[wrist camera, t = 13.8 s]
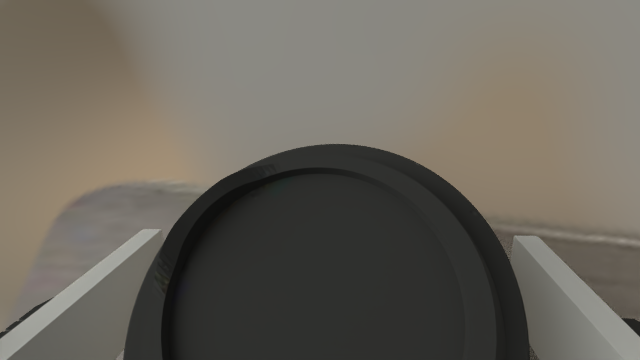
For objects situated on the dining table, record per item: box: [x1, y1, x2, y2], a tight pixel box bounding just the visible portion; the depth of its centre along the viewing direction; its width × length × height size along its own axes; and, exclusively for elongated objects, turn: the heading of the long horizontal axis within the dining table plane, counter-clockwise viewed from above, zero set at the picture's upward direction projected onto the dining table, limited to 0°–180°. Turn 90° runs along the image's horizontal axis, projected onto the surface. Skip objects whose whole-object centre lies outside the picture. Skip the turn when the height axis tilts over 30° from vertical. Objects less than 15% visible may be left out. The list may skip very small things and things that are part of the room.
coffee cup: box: [123, 144, 530, 360], centre depth 13 cm, size 9×9×15 cm
